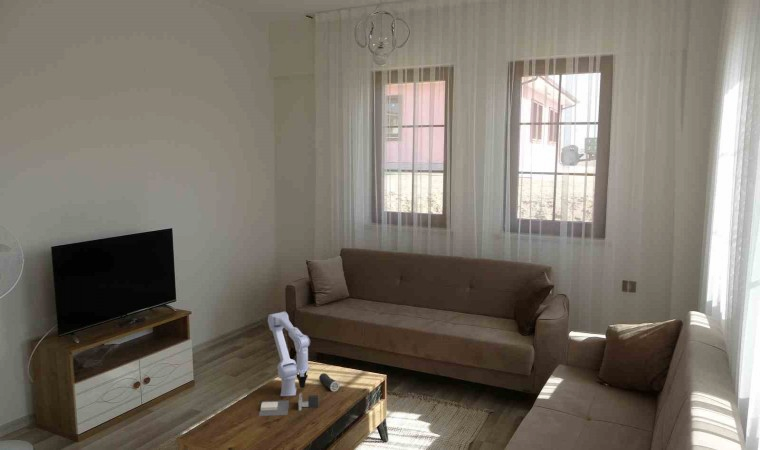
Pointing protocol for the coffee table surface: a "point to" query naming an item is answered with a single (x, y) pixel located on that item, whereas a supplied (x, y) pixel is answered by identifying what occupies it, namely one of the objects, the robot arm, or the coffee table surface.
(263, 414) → the mat
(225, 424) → the coffee table surface
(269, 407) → the cream rectangular block
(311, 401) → the mounted block
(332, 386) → the flashlight
